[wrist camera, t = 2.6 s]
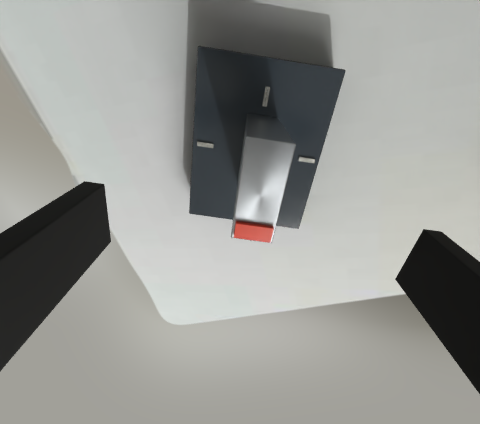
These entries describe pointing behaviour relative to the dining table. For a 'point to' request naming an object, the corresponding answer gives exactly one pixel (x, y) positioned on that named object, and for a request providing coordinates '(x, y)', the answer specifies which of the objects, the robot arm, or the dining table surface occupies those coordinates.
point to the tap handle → (261, 178)
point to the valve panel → (259, 103)
